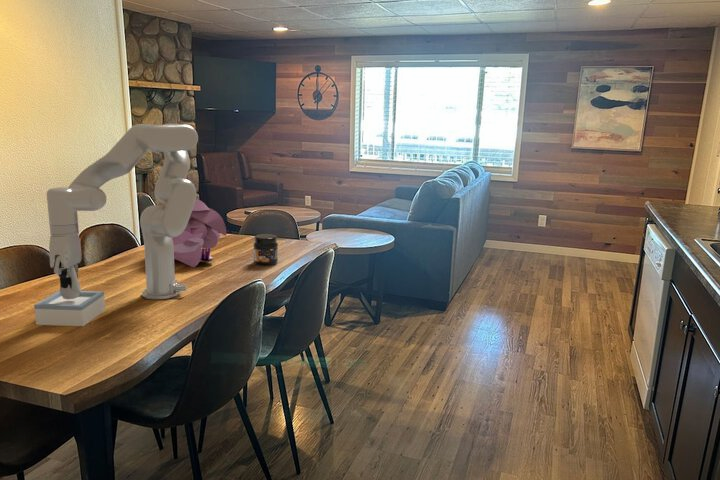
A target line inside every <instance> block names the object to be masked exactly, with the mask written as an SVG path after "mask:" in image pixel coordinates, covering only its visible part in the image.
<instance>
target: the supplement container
mask: <svg viewBox="0 0 720 480" xmlns="http://www.w3.org/2000/svg"><path fill="white" fill-rule="evenodd" d="M253 238H254V242H253V244H252V246H253V263H254V264H255V265H258V266H273V265H275V264H277V263H278V259H279V257H278V252H279V251H278V246H279V243H278V242H277V241H278V240H277V235H276V234H270V233H260V234H256V235H254V237H253Z"/></svg>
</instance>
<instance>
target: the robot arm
mask: <svg viewBox="0 0 720 480" xmlns="http://www.w3.org/2000/svg"><path fill="white" fill-rule="evenodd" d="M198 141H199V134H198V132H197V131H196V129H195V128H194V127H193V126H191V125H189V124H185V123H184V124H181V123H179V124H178V123H163V124H148V123H147V124H146V123H137V124H134V125H133V126H131V127H130V128H129V129H128V130H127V131H126V132H125V133H124V134H123V135H122V137H121V138H120V139H119V140H118V141H117V142H116V143H115V144H114V145H113V147H111V149H110V150H109V151H108V152H107V153H106V154H105V155H103V156H102V157H101V158H99V159H98V160H96V161H95V162H93V163H92V164H90V165H88V166H87V167H86V168H85V169H83V170H82V171H81V172H80V173H79V174H78V175H77V176H76V178H75V179H73V181H71V183H70V184H69V186H67V187H63V186H62V187H51V188H49V189H48V190H47V191H46V202H47V204H46V205H47V212H48V224H49V233H50V234H49V235H50V236H49V266H50V268H51V269H53V274H57V276H58V278H59V282H60V284H59V286H60V285H61V288H67V287H68V284H69V285H70V288H71V289H72V280H71V277H70V270H69V267H71V266H73V265H74V267H75V271H76V274H77V278H78V279H79V275H78V274H79V266H80V263H81V262H82V257H83V255H82V245H81V239H80V235H79V234H80V230H79V217H78V212H95V211H99V210H101V209H103V207H104V206H105V205H106V203H107V200H108V199H107V194H106V193H105V192H104V191H103V190H102V189H101V187H103V185H104V184H106V183H108V182H110V181H112V180H114V179H117V178H120V177H123V176H125V175H127V174H129V173H130V172H131V171H132V170H133V169H134V167H136V165H137V164H138V163H139V162H140V161H141V160H142V158H144V157H145V155H146V154H147V153H148V152H152V153H153V152H154V153H159V152H160V153H163V156H164V159H163V163H162V168H161V171H160V173H159V176H158V178H157V181H156V184H155V187H154V191H153V192H154V196H155V198H156V200H157V201H159V202H161V203H163V204H166V206H162V205H150V206H147V207H145V209H144V210H143V211H142V212H141V215H140V217H139V218H140V220H139V224H140V228H141V229H140V230H141V233H142V238H143V245H144V264H145V282H146V288H145V289H144V290H142V293H141V294H142V295H141V296H142V297H143V298H145V299H148V300H166V299H171V298H174V297H177V296H179V295H181V292H187V289H188V286H187V285H186V284H185V283H179V282H178V281H179V280H178V279H176V274H175V259H174V245H173V239H172V237H177V236H179V235H181V234H182V233H183V232H184V230H185V228H186V226H187V224H188V221H189V218H190V215H191V213H192V210H193V207H194V204H195V201H196V199H197V189H196V186H195V185H194V183H193V182H192V181H191V180H189V179H187V177H188V173H189V170H190V165H191V163H190V162H191V161H190V155H189V152H188V151H190V150H192V149H194V148H195V147H196V146H197V144H198ZM62 266H63V267H62ZM63 270H66V272H65V271H63Z"/></svg>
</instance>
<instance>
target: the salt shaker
mask: <svg viewBox="0 0 720 480" xmlns="http://www.w3.org/2000/svg"><path fill="white" fill-rule="evenodd" d="M62 267H63V266H62ZM69 270H70V277H71V280H72V289H71V288H70V285H69V284H68V287H67V288H61V285H60V284H59V290H60V294H61V295H62V297H63V299H75V298H77V297H79V294H80V291H82V288H81V284H80V282H79V277H78V278H77V274H78V273H76V271H75V267H74V265H73V266H71V267H69ZM63 271H65V272H66V270H63Z"/></svg>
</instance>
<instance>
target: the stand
mask: <svg viewBox="0 0 720 480" xmlns="http://www.w3.org/2000/svg"><path fill="white" fill-rule="evenodd" d="M33 308H34V309H33V310H34V316H35V318H34V319H35V325H36V326H59V327H60V326H63V327H64V326H66V327H85V326H86V325H88V323H90V322H91V321H93V320H94V319H95V318H97V317H98V316H99V315H100V314H102V313H103V312H104V311H106V303H105V291H95V290H93V291H92V290H91V291H90V290H81V291H80V294H79V297H77V298H75V299H63V297H62V295H61V294H60V289H59V290H58V291H56V292H54V293H53V294H50V295H49V296H47V297H46V298H44V299H42V300H40V301H39V302H36V303H35V304H34V305H33Z"/></svg>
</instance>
